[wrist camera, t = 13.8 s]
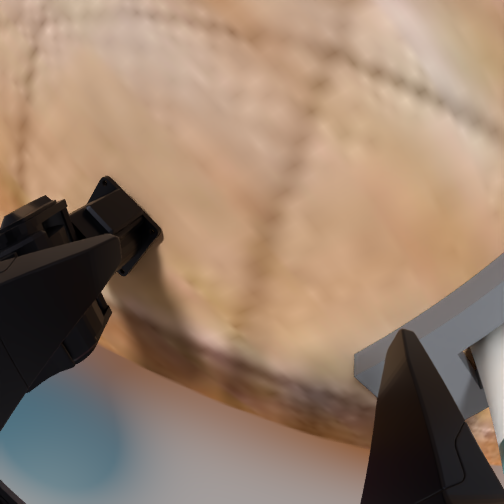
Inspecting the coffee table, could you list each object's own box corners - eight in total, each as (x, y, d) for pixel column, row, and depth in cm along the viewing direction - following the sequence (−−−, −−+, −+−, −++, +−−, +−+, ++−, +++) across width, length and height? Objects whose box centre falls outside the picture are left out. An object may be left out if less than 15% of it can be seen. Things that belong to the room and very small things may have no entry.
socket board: (422, 420, 27) (424, 439, 25) (354, 354, 25) (353, 376, 23) (560, 333, 19) (570, 349, 16) (527, 232, 17) (542, 247, 15)
